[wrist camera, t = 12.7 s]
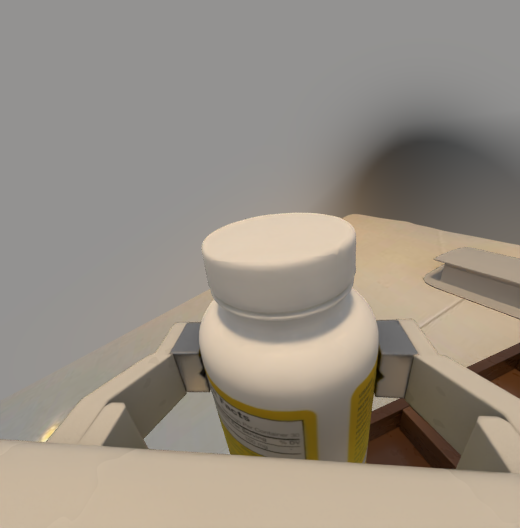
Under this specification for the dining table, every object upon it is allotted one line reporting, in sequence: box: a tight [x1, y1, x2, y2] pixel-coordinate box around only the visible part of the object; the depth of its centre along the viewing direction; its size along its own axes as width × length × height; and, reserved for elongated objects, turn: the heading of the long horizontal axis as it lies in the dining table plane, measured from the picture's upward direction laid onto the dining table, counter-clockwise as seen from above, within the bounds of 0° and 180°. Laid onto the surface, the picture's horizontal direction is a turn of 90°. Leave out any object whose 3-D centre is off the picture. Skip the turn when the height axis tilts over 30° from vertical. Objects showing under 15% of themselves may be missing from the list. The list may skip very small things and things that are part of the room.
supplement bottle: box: [199, 213, 379, 463], centre depth 8 cm, size 5×5×10 cm
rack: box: [366, 343, 520, 469], centre depth 19 cm, size 8×38×3 cm, turn 109°
